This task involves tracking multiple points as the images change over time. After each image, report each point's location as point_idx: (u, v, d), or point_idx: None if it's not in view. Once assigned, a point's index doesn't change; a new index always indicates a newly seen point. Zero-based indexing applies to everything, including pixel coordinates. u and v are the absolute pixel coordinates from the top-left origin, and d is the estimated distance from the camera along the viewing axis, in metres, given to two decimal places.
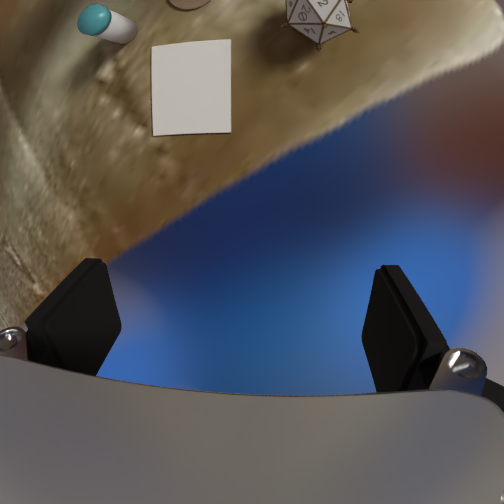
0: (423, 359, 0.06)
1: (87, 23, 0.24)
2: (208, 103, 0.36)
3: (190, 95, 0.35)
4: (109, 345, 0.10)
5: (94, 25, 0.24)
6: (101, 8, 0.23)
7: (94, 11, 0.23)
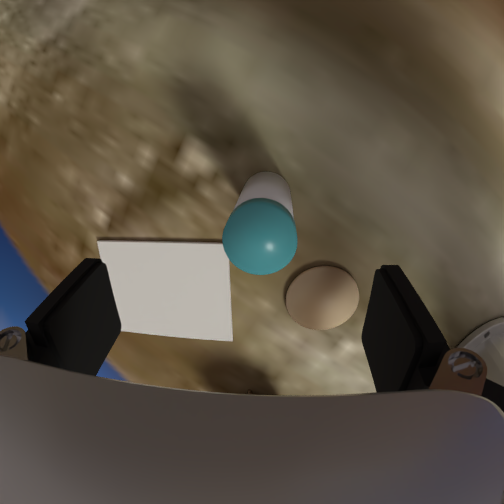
0: (423, 359, 0.06)
1: (250, 232, 0.16)
2: (146, 312, 0.29)
3: (153, 294, 0.28)
4: (109, 345, 0.10)
5: (240, 250, 0.16)
6: (279, 264, 0.16)
7: (277, 249, 0.16)
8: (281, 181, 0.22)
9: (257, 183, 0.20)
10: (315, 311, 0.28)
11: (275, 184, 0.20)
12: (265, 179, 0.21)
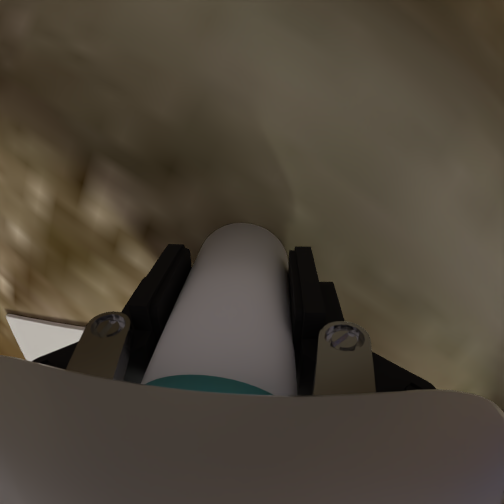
0: (306, 329, 0.08)
1: None
2: None
3: None
4: None
5: None
6: None
7: None
8: (270, 252, 0.11)
9: (213, 274, 0.09)
10: None
11: (255, 274, 0.09)
12: (234, 256, 0.10)
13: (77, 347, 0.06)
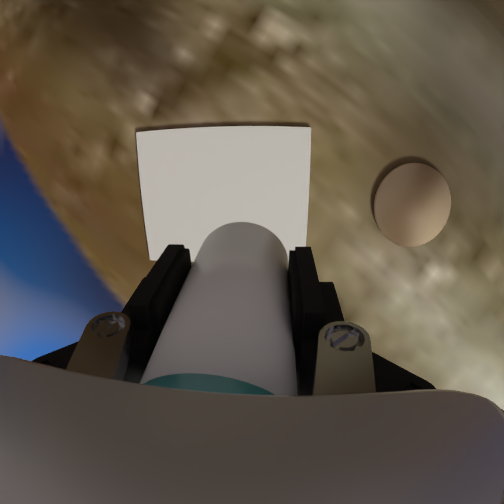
0: (306, 329, 0.08)
1: None
2: (192, 228, 0.23)
3: (206, 199, 0.22)
4: None
5: None
6: None
7: None
8: (270, 251, 0.11)
9: (213, 272, 0.09)
10: (406, 220, 0.22)
11: (255, 273, 0.09)
12: (234, 255, 0.10)
13: (77, 347, 0.06)
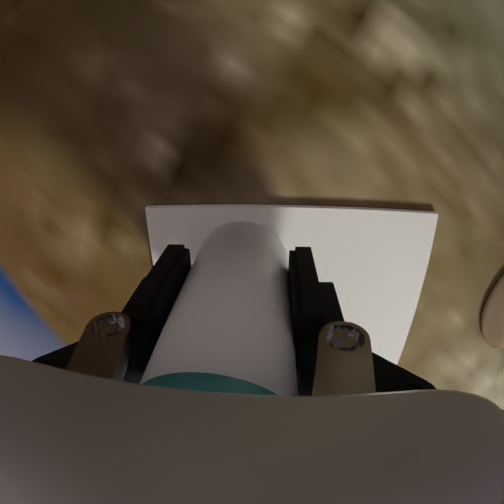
0: (306, 330, 0.08)
1: None
2: None
3: None
4: None
5: None
6: None
7: None
8: (270, 250, 0.11)
9: (213, 272, 0.09)
10: None
11: (255, 273, 0.09)
12: (234, 255, 0.10)
13: (77, 347, 0.06)
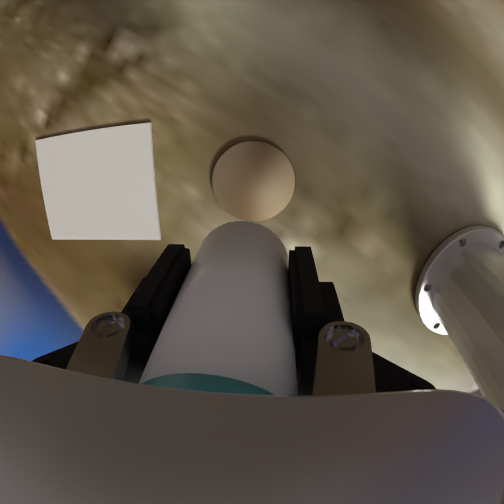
0: (306, 330, 0.08)
1: None
2: (75, 212, 0.26)
3: (82, 189, 0.25)
4: None
5: None
6: None
7: None
8: (270, 250, 0.11)
9: (213, 272, 0.09)
10: (246, 196, 0.25)
11: (255, 272, 0.09)
12: (233, 254, 0.09)
13: (77, 347, 0.06)
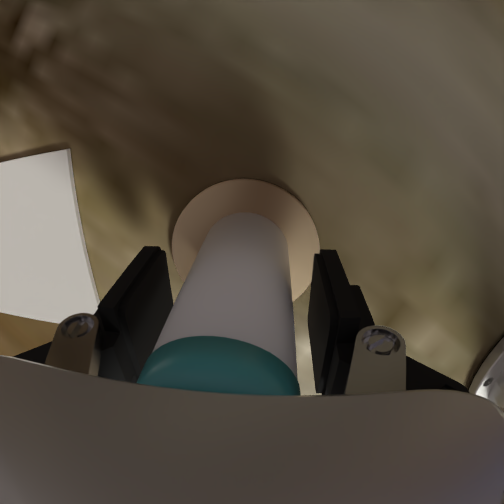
0: (340, 334, 0.07)
1: None
2: None
3: None
4: None
5: None
6: None
7: None
8: (271, 238, 0.11)
9: (219, 255, 0.10)
10: None
11: (257, 256, 0.10)
12: (238, 240, 0.10)
13: (50, 349, 0.06)
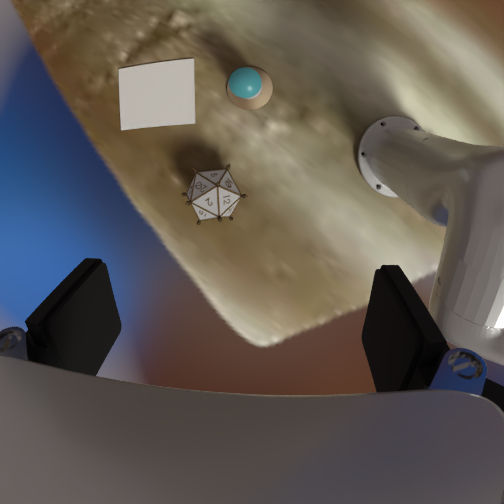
0: (423, 359, 0.06)
1: (241, 78, 0.33)
2: (141, 110, 0.43)
3: (148, 95, 0.42)
4: (109, 345, 0.10)
5: (236, 86, 0.33)
6: (253, 92, 0.33)
7: (252, 85, 0.33)
8: None
9: None
10: None
11: None
12: None
13: None
